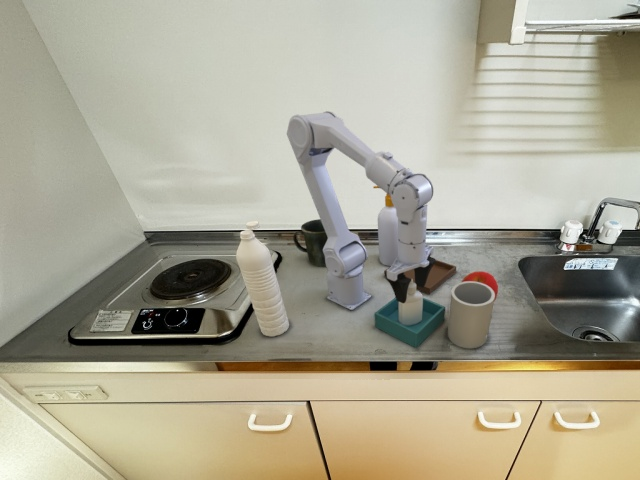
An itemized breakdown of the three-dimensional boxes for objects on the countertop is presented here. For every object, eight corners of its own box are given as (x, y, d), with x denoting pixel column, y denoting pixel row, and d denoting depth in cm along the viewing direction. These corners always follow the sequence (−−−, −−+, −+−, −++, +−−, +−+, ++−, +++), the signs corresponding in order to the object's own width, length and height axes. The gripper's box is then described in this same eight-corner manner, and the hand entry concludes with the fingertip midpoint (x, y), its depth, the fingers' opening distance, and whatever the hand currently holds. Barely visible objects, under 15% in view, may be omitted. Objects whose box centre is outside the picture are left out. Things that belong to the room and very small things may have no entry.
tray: (384, 276, 96) (384, 270, 94) (413, 257, 106) (413, 252, 104) (429, 294, 88) (429, 288, 87) (455, 272, 98) (456, 266, 96)
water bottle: (286, 336, 74) (258, 237, 59) (258, 338, 74) (222, 239, 59) (293, 313, 81) (269, 220, 67) (267, 314, 81) (237, 221, 66)
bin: (375, 327, 77) (374, 313, 74) (404, 303, 85) (404, 290, 82) (416, 348, 71) (417, 333, 68) (444, 320, 79) (445, 306, 76)
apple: (488, 289, 85) (490, 257, 76) (502, 315, 79) (506, 285, 70) (455, 298, 85) (453, 268, 76) (466, 325, 80) (466, 296, 70)
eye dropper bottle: (420, 328, 75) (422, 285, 68) (397, 325, 76) (397, 283, 69) (422, 316, 79) (424, 275, 72) (400, 314, 79) (400, 273, 72)
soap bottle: (379, 253, 108) (376, 181, 94) (406, 254, 107) (407, 182, 93) (374, 265, 101) (370, 190, 87) (403, 267, 100) (403, 191, 86)
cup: (447, 320, 78) (450, 280, 71) (484, 322, 77) (492, 281, 70) (448, 347, 71) (451, 305, 64) (489, 349, 70) (497, 307, 63)
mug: (339, 268, 100) (334, 232, 93) (293, 267, 100) (285, 232, 93) (344, 252, 109) (340, 218, 102) (302, 252, 109) (295, 218, 102)
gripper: (406, 257, 58) (406, 315, 66) (446, 231, 67) (442, 285, 75) (377, 247, 61) (380, 303, 69) (419, 224, 71) (417, 276, 79)
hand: (410, 293), depth 72 cm, fingers open, 7 cm apart
